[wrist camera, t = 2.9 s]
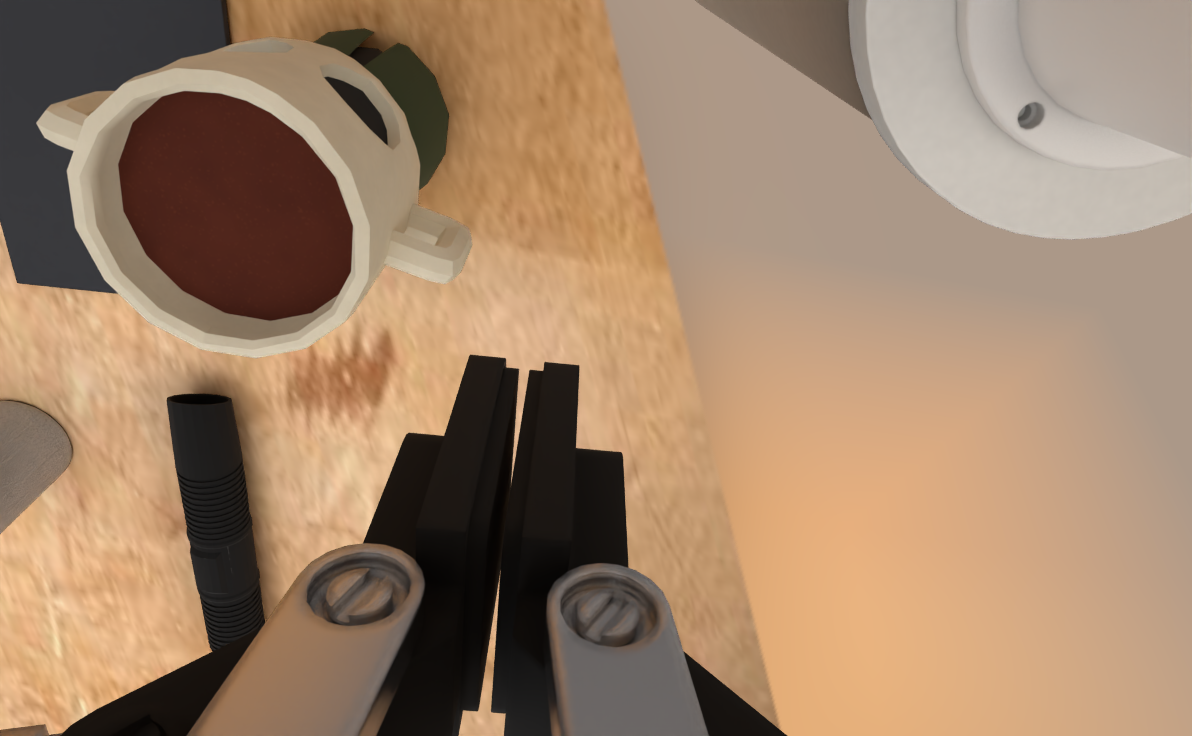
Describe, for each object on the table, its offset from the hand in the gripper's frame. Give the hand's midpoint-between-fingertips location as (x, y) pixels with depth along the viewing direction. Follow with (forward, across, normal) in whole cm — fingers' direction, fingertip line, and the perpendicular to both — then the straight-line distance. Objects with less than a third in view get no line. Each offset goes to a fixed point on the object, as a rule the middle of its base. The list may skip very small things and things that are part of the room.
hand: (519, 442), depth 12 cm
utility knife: (+21, +16, +23) cm, 35 cm away
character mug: (+21, +8, 0) cm, 22 cm away
